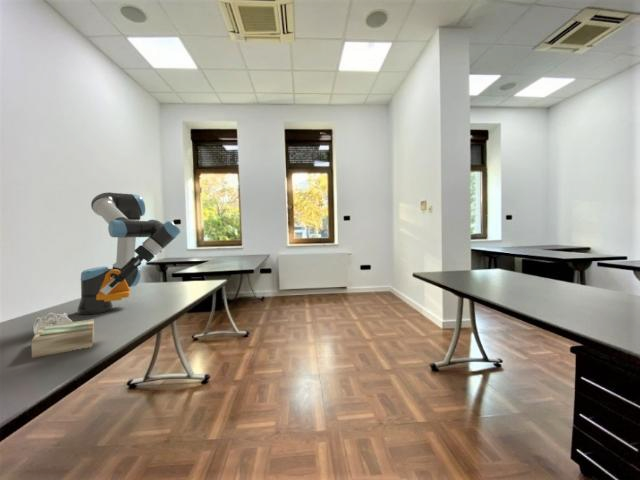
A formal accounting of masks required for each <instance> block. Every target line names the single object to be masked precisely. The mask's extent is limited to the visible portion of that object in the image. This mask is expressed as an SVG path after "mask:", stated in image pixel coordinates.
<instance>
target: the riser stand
mask: <svg viewBox="0 0 640 480" xmlns="http://www.w3.org/2000/svg"><path fill="white" fill-rule="evenodd" d="M94 338H95V319H93V318H92V319H86V320H80V321H78V320H77V321H72V322H70V323H63V324H56V325H48V326H42V327H41V328H40V329H39V331H38V332H37V333H36V335H33V337H32V339H31V341H30V342H31V358H32V359H34V358H39V357H45V356H50V355H56V354H62V353H67V352H72V350H73V351H77V349H78V350H83V349H82V348H84V349H89V348H92V347H93V344H94ZM88 347H89V348H88Z"/></svg>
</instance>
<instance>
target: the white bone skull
mask: <svg viewBox="0 0 640 480" xmlns="http://www.w3.org/2000/svg"><path fill="white" fill-rule="evenodd" d="M70 322H73V320H72V319H71V318H70V317H69V316H68V314H67V313H66V312H65V311H64V312H63V313H54V312H52V311H49V312H48V313H47V314H46V315H44V316H41V317H39V316H38V317H36V319H35V320H34V322H33V326H32V330H33V336H35V335H36V333H37V332H38V331H39V329H40V328H41V327H42V326H48V325H56V324H63V323H70Z"/></svg>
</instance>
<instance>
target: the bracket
mask: <svg viewBox="0 0 640 480" xmlns="http://www.w3.org/2000/svg"><path fill="white" fill-rule="evenodd" d="M112 273H115V274H117V276H118V275H119V274H120V273H121V271H120V270H117V269H113V270H110V271H109V272H108V273H107V274H106V275H105V279H104V281H103V284H102V286H101V288H100V290H101V289H102V288H104V287H105V286H106V285H107V284H108V283H109V282H110V281H111V280H112V278H111V277H110V275H111V274H112ZM130 296H131V289H130V287H129V286H128V284H127V282H126V280H125V279H124V280H123V281H122V282H120V283H119V284H118V285H117V286H116V287H114V288H113V289H112V290H111V291H110V292H109V293H108V294H107V295H105V294H104V293H102V292H101V291H99V293H98V294H97V295H96V300H104V302H105V301H111V302H115V301H122V299H124V298H125V299H126V298H130Z"/></svg>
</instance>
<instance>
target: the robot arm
mask: <svg viewBox="0 0 640 480" xmlns="http://www.w3.org/2000/svg"><path fill="white" fill-rule="evenodd" d="M90 204H91V205H90V207H91V209H92V211H93V212H94V213H95V214H96V215H98V216H99V217H101V218H102V219H103V220H104V221H105V222H106V223H107V224H108V226H107V228H108V229H107V230H108V233H109V234H108V235H109V236H110V237H111V238H117V244H116V258H115V259H116V260H115V262H114V263H113V264H112V268H109V267H108V266H98V267H92V268H87V269H84V270H83V271H81V273H80V279H79V280H80V290H81V291H80V292H81V293H80V296H81V297H80V301H79V303H78V306H77V310H76V311H77V314H78V315H94V314H95V315H96V314H101V313H106V312H109V311H112V310H113V309H114V307H113V306H114V305H113V301H105V302H104V300H96V295H97V294H98V293H99V291H101V292H102V293H104V294H105V295H107V294H108V293H109V292H110V291H111V290H112V289H113V288H114V287H116V286H117V285H118V284H119V283H120V282H122V281H123V280H124V279H125V280H126V282H127V284H128V286H129V288H133V287H135V286H137V285H138V284H139V283H140V281H141V275H142V274H141V268H140V266H141V264H142V261H146V262H147V263H150V262H151V261H152V260H153V259H154V258H155V256H157V255H158V254H160V253H162V250H163V249H164V248H166V247H167V246H168V245H169V244H170V243H171V242H173V240H175V239H176V238H177V237H178V235H180V233H181V229H180V228H179V227H178V226H177V225H176V224H175V223H174V222H172V221H170V220H168V221H166V222H164V223H163V222H161V221H159V220H157V219H149V220H141V218H142V217H143V216H145V214H146V204H145V201H144V198H143V197H142V196H141V195H139V194H138V195H137V194H132V193H121V192H120V193H119V192H118V193H117V192H102V193H100V194H98V195H96V196H94V197H93V199H92V200H91V203H90ZM137 238H146V239H145V240H144V241H143V242H142V243H141V244H142V245H141V244H140V245H139V246H137V248H136V244H137V243H136V242H137V241H136V240H137ZM136 254H137V255H136ZM113 269H117V270H120V271H121V273H120V274H119V275H118V276H117V274H115V273H112V274H111V275H110V277H111V278H112V280H111V281H110V282H109V283H108V284H107V285H106V286H105V287H104V288H102V289H101V290H100V288H101V286H102V284H103V281H104V279H105V275H106V274H107V273H108V272H109V271H110V270H113Z"/></svg>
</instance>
